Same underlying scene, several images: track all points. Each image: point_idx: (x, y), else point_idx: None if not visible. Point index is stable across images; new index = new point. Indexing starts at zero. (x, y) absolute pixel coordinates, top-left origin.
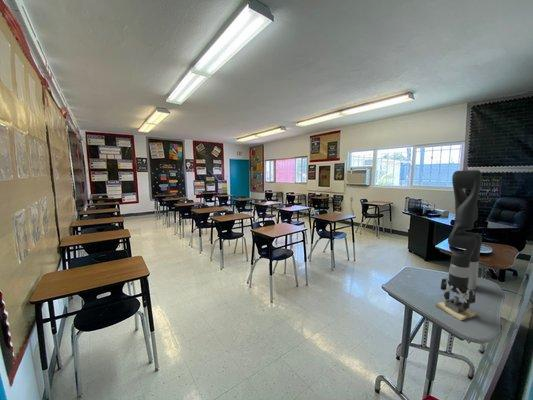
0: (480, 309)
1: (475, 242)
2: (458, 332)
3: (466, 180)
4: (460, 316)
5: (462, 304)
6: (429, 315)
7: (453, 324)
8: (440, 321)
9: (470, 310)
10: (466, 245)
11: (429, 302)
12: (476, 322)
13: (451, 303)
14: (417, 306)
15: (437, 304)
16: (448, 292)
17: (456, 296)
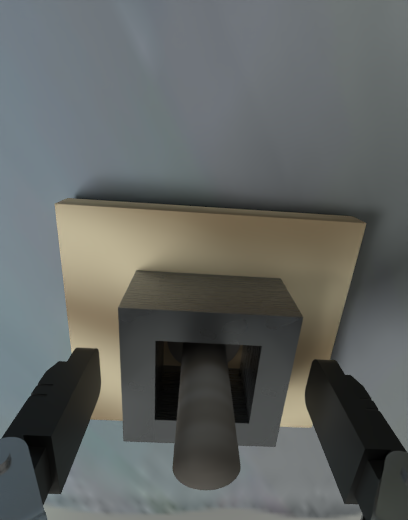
0: (326, 2)
1: None
2: (347, 507)
3: None
4: (298, 413)
5: (266, 355)
6: (163, 509)
7: (294, 472)
8: (235, 505)
9: (303, 236)
10: None
11: (23, 387)
12: (383, 325)
13: None
14: (51, 494)
15: (93, 414)
16: (45, 463)
17: (190, 451)
